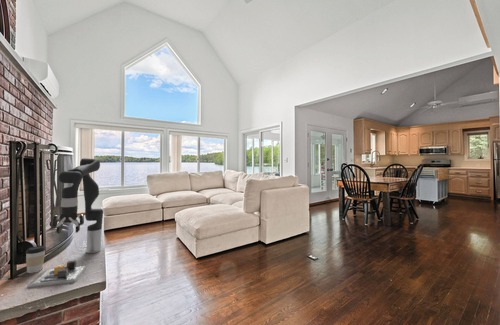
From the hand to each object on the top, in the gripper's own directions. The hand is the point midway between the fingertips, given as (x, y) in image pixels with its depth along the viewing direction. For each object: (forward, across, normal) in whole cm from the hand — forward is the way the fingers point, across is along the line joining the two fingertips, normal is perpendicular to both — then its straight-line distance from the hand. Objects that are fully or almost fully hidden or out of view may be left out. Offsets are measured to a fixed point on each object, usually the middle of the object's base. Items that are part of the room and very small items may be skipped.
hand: (68, 232), depth 126 cm
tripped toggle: (+27, +6, -7) cm, 28 cm away
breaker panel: (+29, +6, -7) cm, 31 cm away
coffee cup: (+30, +24, -20) cm, 43 cm away
